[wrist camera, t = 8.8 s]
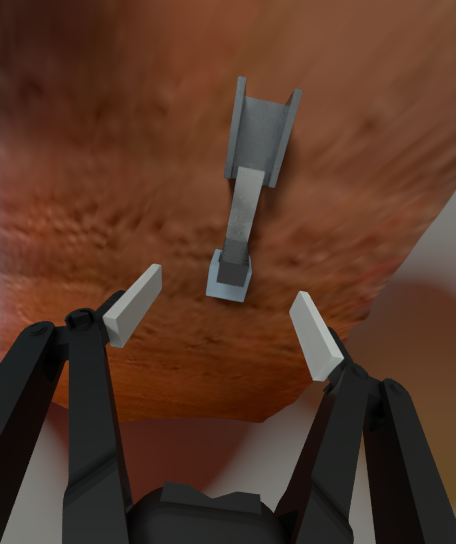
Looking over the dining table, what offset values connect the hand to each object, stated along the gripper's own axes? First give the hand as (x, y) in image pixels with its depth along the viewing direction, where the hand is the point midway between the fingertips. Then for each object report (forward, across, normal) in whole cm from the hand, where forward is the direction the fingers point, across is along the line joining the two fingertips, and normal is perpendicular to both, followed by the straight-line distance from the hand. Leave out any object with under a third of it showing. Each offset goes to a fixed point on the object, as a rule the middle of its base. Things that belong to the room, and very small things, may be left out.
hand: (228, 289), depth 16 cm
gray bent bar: (+15, 0, +2) cm, 15 cm away
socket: (+16, 0, -6) cm, 18 cm away
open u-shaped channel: (+17, 0, +13) cm, 21 cm away
